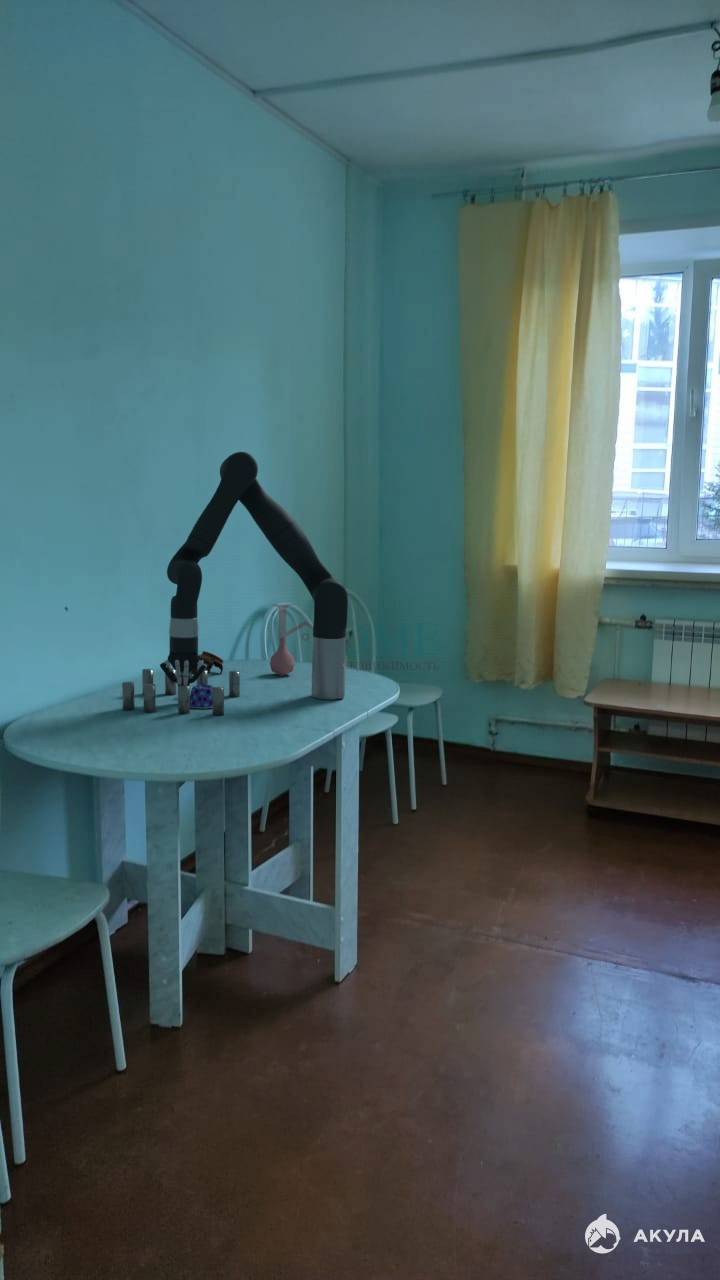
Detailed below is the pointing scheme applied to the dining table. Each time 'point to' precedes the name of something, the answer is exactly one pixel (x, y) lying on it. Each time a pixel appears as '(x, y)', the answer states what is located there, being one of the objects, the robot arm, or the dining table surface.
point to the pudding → (201, 696)
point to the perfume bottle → (282, 660)
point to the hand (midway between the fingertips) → (183, 697)
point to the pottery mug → (209, 662)
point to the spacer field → (179, 692)
